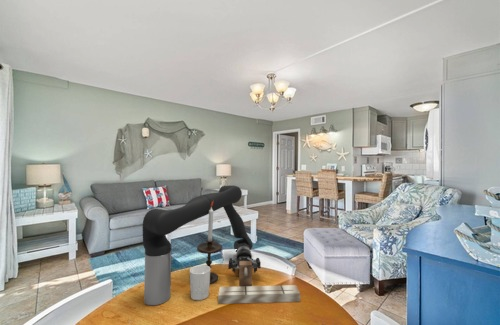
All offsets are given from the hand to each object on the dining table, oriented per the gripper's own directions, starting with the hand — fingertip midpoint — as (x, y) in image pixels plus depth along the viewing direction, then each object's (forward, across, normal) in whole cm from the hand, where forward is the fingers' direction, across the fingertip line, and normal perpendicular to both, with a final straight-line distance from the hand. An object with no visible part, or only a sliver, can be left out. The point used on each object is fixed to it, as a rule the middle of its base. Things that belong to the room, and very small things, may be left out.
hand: (244, 270), depth 94 cm
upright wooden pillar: (+6, 0, +7) cm, 9 cm away
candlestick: (-6, -16, +6) cm, 18 cm away
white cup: (+6, -18, +7) cm, 20 cm away
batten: (+9, +5, +6) cm, 12 cm away
